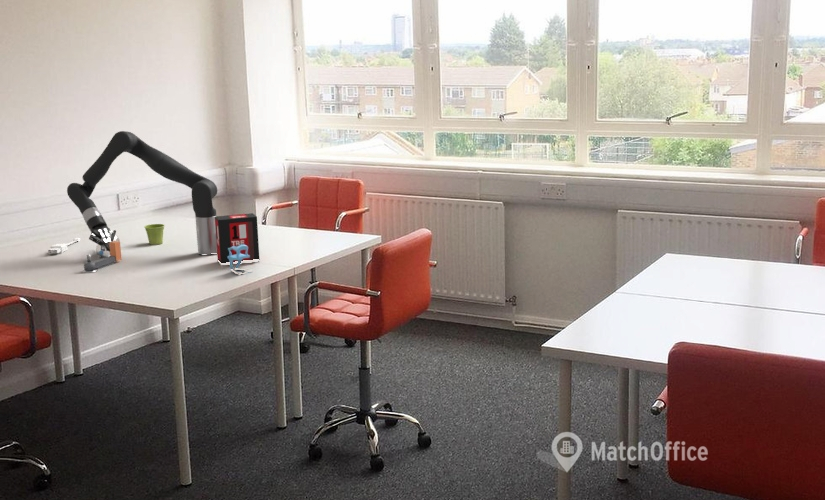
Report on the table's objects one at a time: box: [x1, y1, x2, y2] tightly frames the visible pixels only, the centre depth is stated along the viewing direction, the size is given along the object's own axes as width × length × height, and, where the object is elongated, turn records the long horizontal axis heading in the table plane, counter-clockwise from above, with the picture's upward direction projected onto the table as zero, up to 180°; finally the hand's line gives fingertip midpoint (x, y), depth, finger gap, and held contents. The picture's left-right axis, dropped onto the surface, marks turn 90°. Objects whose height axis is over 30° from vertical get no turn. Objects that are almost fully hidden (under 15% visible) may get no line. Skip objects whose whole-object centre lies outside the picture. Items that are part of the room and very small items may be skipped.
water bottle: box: [94, 233, 121, 259], centre depth 409 cm, size 7×7×25 cm
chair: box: [227, 244, 250, 270], centre depth 370 cm, size 8×8×12 cm
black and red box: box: [215, 212, 260, 263], centre depth 387 cm, size 16×9×20 cm, turn 111°
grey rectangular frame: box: [95, 265, 109, 270], centre depth 385 cm, size 6×4×1 cm
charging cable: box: [47, 237, 81, 254], centre depth 424 cm, size 5×32×3 cm, turn 0°
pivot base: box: [82, 254, 99, 274], centre depth 377 cm, size 6×6×7 cm
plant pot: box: [143, 223, 166, 246], centre depth 427 cm, size 9×9×9 cm
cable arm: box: [83, 241, 122, 271], centre depth 384 cm, size 20×4×8 cm, turn 158°
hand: (111, 250), depth 394 cm, fingers closed
